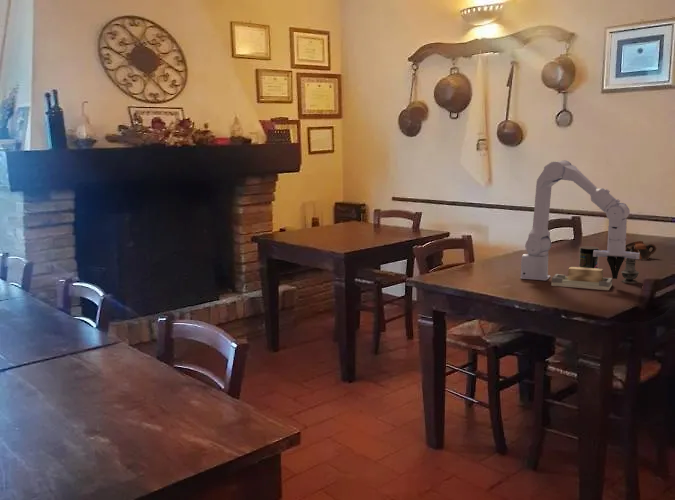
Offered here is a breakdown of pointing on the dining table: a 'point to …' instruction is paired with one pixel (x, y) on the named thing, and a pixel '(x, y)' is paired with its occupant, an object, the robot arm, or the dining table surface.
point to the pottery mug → (641, 249)
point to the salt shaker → (630, 271)
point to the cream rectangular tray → (581, 283)
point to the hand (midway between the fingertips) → (614, 278)
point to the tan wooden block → (585, 274)
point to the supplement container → (588, 257)
